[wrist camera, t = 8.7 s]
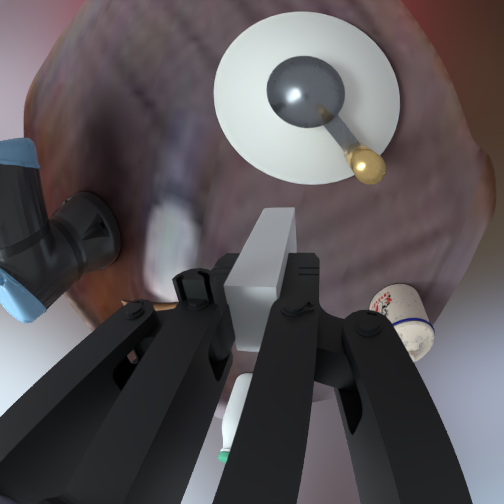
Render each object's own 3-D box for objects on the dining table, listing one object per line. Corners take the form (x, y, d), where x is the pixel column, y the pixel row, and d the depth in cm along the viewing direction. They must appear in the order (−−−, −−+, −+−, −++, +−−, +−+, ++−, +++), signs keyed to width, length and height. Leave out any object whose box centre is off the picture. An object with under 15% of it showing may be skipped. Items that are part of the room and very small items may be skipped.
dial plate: (193, 137, 34) (188, 139, 32) (259, -6, 22) (256, -10, 21) (345, 211, 34) (346, 216, 32) (422, 70, 23) (427, 69, 21)
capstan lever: (256, 89, 27) (237, 82, 20) (309, 48, 24) (306, 28, 17) (337, 184, 31) (343, 206, 24) (390, 146, 27) (412, 157, 20)
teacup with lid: (377, 277, 37) (391, 333, 27) (428, 285, 36) (451, 337, 26) (355, 335, 43) (358, 390, 33) (402, 339, 42) (412, 392, 32)
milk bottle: (230, 379, 57) (201, 456, 40) (251, 367, 53) (224, 453, 36) (256, 394, 58) (234, 470, 41) (278, 384, 54) (259, 467, 37)
